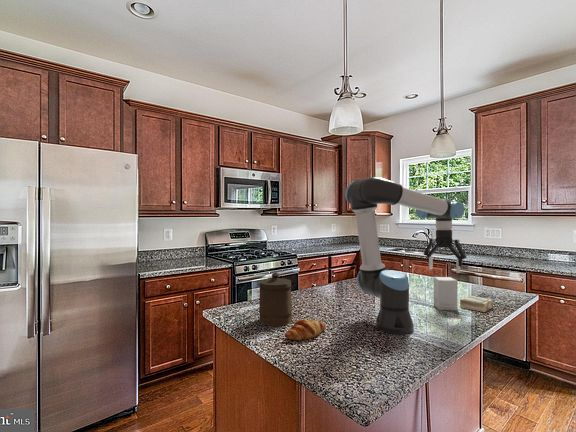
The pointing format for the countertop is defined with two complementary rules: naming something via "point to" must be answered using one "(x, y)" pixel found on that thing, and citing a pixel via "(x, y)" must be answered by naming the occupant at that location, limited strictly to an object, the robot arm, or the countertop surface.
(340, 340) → the countertop surface
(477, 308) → the tan picture frame
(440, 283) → the supplement box
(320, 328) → the croissant
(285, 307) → the wooden container
